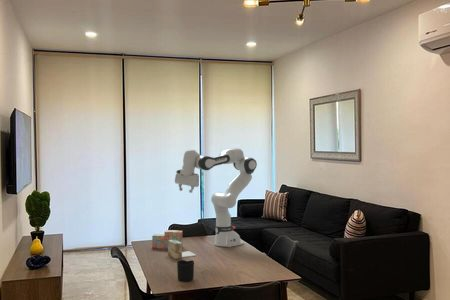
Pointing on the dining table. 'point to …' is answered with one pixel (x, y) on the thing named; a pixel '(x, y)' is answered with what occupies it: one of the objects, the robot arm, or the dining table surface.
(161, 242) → the stack of blocks
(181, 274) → the pen holder
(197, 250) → the dining table surface
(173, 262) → the dining table surface
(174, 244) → the oak block
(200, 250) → the dining table surface
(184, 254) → the felt mat
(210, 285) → the dining table surface
